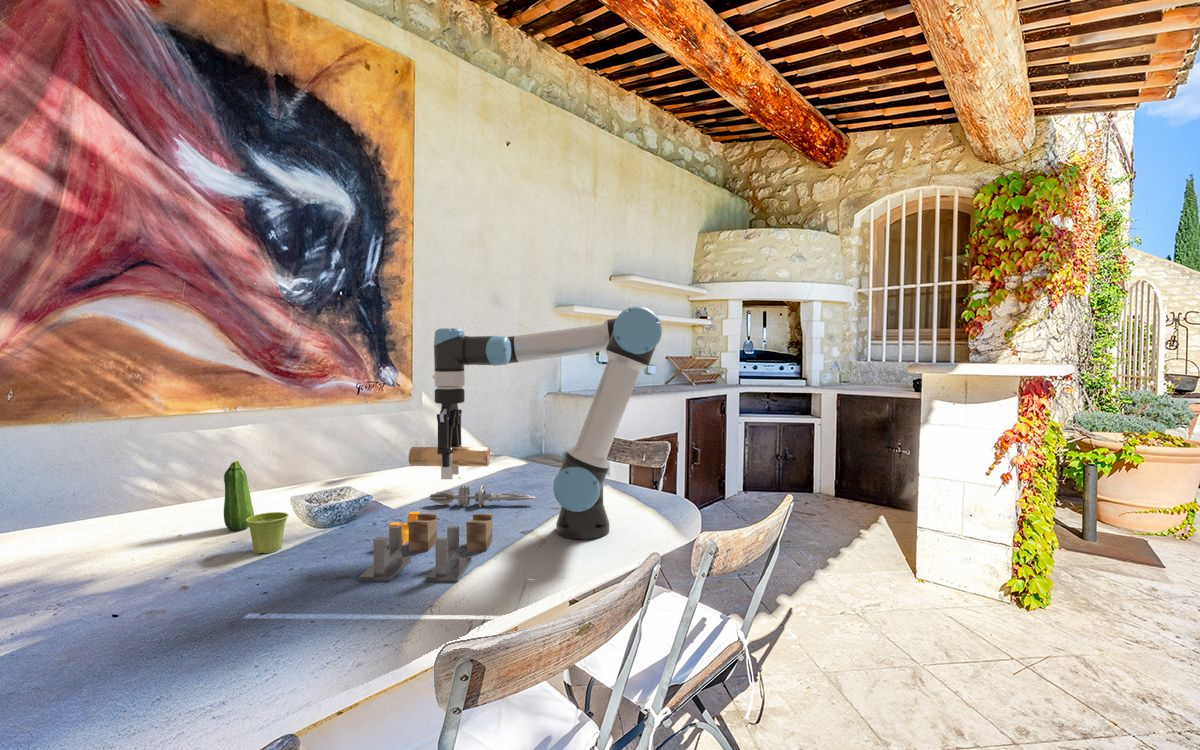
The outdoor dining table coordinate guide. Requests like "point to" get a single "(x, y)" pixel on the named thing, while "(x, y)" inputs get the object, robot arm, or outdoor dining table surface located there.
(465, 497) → the spaceship
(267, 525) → the plant pot
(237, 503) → the vegetable
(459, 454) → the tube
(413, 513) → the pipe clamp
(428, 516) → the walnut rest
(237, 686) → the outdoor dining table surface
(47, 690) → the outdoor dining table surface
